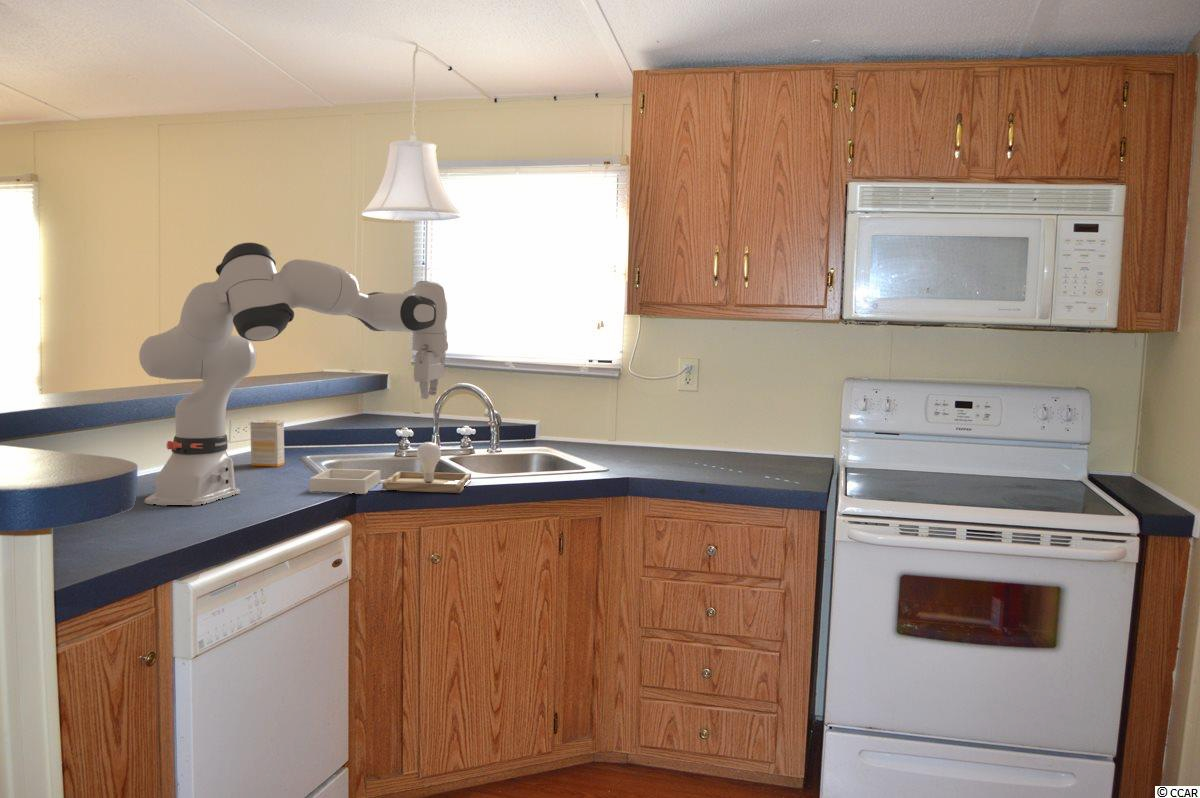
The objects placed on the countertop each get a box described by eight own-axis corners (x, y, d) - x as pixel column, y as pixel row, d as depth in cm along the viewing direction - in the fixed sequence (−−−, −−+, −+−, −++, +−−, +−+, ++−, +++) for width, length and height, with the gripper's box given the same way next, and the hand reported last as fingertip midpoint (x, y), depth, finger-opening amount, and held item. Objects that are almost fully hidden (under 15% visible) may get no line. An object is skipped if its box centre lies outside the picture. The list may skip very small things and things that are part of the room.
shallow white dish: (365, 493, 217) (365, 480, 217) (309, 492, 217) (309, 478, 217) (380, 483, 231) (380, 470, 231) (328, 481, 231) (328, 468, 231)
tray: (460, 492, 222) (460, 484, 221) (382, 490, 222) (382, 482, 222) (470, 481, 238) (471, 473, 237) (398, 478, 238) (398, 471, 238)
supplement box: (285, 464, 255) (284, 420, 254) (277, 467, 250) (277, 422, 249) (258, 463, 256) (258, 419, 254) (250, 466, 251) (249, 421, 250)
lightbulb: (430, 479, 235) (430, 439, 234) (445, 483, 231) (446, 442, 230) (411, 482, 230) (411, 441, 229) (426, 486, 226) (427, 444, 225)
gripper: (433, 346, 216) (432, 401, 217) (449, 343, 236) (448, 393, 238) (407, 345, 216) (407, 400, 218) (426, 342, 236) (425, 392, 238)
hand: (429, 396), depth 228 cm, fingers open, 8 cm apart
